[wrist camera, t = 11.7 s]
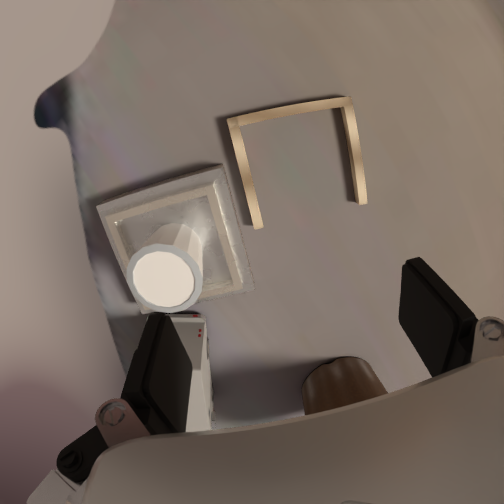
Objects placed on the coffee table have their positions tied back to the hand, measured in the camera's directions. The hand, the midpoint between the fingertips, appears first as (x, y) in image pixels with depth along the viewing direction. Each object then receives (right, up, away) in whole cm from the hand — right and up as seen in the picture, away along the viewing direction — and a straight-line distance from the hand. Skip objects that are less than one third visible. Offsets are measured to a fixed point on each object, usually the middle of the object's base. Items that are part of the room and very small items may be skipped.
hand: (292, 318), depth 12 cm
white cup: (-10, +3, +21) cm, 23 cm away
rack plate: (-10, +4, +23) cm, 25 cm away
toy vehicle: (-11, -13, +31) cm, 35 cm away
